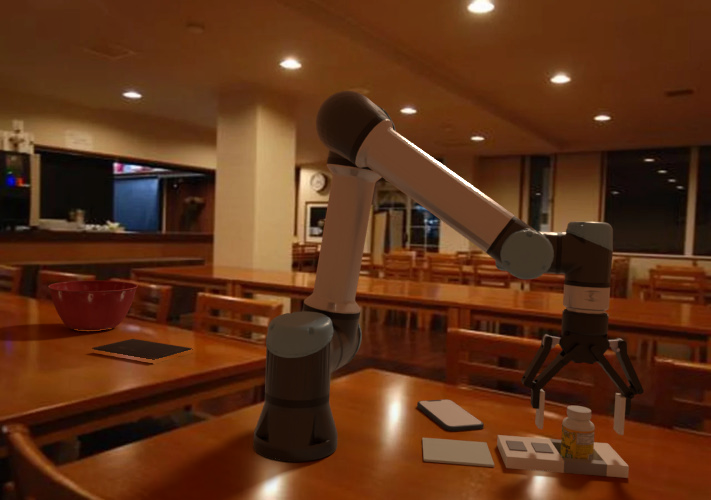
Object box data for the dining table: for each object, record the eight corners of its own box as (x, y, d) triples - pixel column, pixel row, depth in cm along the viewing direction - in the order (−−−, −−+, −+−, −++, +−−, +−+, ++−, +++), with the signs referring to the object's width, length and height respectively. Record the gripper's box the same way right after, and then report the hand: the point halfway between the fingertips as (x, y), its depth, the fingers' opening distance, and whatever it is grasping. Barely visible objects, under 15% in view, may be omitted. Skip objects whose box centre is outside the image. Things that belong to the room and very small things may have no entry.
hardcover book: (153, 366, 153) (154, 358, 153) (91, 355, 162) (92, 347, 162) (192, 355, 167) (193, 347, 167) (134, 345, 177) (134, 338, 176)
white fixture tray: (506, 468, 96) (506, 455, 96) (497, 445, 106) (497, 433, 106) (628, 477, 94) (629, 465, 94) (607, 453, 104) (607, 442, 104)
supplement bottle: (597, 469, 97) (601, 414, 97) (566, 468, 97) (569, 413, 97) (585, 456, 102) (588, 404, 102) (555, 455, 102) (558, 403, 102)
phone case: (486, 431, 115) (449, 405, 130) (486, 424, 115) (450, 398, 130) (447, 435, 112) (414, 407, 127) (447, 427, 112) (415, 400, 127)
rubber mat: (423, 461, 97) (423, 459, 97) (422, 439, 107) (422, 437, 107) (494, 467, 96) (494, 464, 96) (486, 444, 106) (486, 442, 106)
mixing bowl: (143, 333, 193) (144, 288, 192) (48, 339, 178) (49, 290, 178) (130, 319, 217) (131, 280, 216) (46, 323, 203) (46, 280, 202)
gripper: (516, 309, 96) (510, 431, 97) (669, 317, 94) (661, 442, 94) (509, 303, 103) (503, 417, 104) (650, 310, 101) (643, 426, 102)
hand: (578, 429), depth 99 cm, fingers open, 13 cm apart
